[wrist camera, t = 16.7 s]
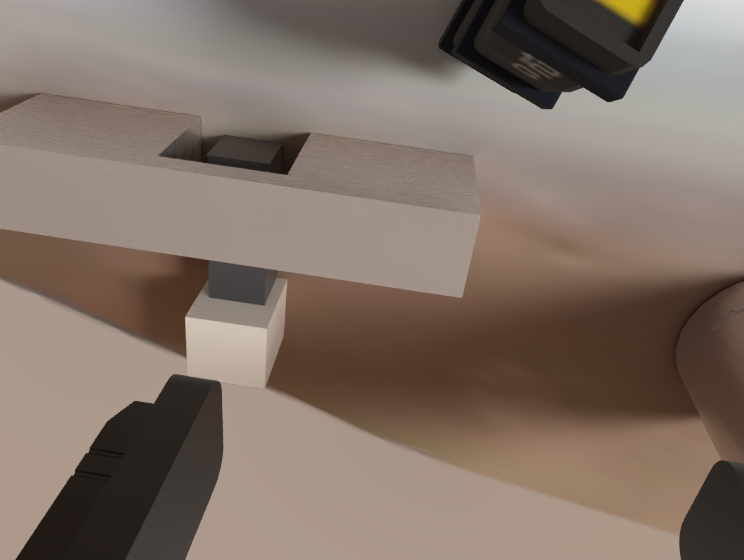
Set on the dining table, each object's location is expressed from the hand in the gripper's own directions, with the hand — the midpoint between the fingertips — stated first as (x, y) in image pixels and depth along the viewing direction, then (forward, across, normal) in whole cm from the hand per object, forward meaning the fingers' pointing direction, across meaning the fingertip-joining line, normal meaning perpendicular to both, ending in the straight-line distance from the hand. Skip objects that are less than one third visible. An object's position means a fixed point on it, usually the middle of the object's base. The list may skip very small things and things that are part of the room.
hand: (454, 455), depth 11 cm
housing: (+23, +10, +5) cm, 26 cm away
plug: (+23, +10, +10) cm, 27 cm away
